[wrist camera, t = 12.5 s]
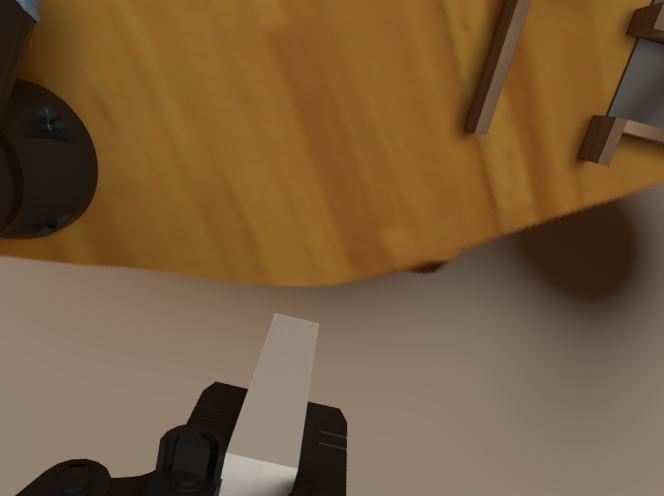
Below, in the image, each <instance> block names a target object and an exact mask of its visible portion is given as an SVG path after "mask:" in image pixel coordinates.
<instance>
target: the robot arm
mask: <svg viewBox="0 0 664 496" xmlns="http://www.w3.org/2000/svg"><path fill="white" fill-rule="evenodd" d="M41 3H42V0H0V238H1V239H31V238H37V237H42V236H46V235H48V234H51V233H53V232H56V231H58V230H60V229H62V228H64V227H66V226H68V225H70V224H71V223H73V222H74V221H75V220H77V219H78V218H79V217H80V216H81V215H82V214H83V213H84V212H85V210H86V209H87V207H88V206H89V204H90V202H91V200H92V198H93V195H94V193H95V189H96V185H97V177H98V166H97V158H96V153H95V149H94V146H93V143H92V140H91V138H90V136H89V134H88V131H87V130H86V128H85V126H84V125H83V123H82V121H81V120H80V119H79V117H78V116H77V115H76V113H75V112H74V111H73V110H72V109H71V108H70V107H69V106H68V105H67V104H66V103H65V102H64V101H63V100H62V99H60V98H59V97H58V96H56V95H55V94H54V93H52V92H50V91H49V90H47V89H45V88H43V87H41V86H39V85H37V84H34V83H31V82H28V81H25V80H20V79H16V78H17V75H18V72H19V69H20V66H21V63H22V60H23V58H24V55H25V52H26V49H27V46H28V43H29V40H30V37H31V34H32V32H33V29H34V26H35V23H36V24H38V25H39V23H40V20H41V16H40V14H39V10H40V6H41ZM318 326H319V323H316V322H311V321H307V320H303V319H299V318H294V317H290V316H286V315H282V314H277V313H275V315H274V318H273V321H272V323H271V326H270V329H269V332H268V335H267V338H266V340H265V343H264V346H263V349H262V352H261V355H260V358H259V360H258V363H257V366H256V369H255V372H254V375H253V377H252V380H251V383H250V386H249V389H246V388H241V387H237V386H232V385H228V384H224V383H220V382H215V383H213V384H212V385H210V386H209V387H208V388H206V389H205V390H204V391H203V392H202V394H201V396H200V398H199V400H198V402H197V404H196V406H195V408H194V410H193V412H192V414H191V417H190V418H189V420H188V422H187V424H186V425H181V426H177V427H175V428H173V429H171V430H169V431H167V432H166V433H165V435H164V436H163V437H162V438H161V439H160V445H159V452H158V458H157V464H156V470H154V471H153V472H151V473H148V474H144V475H141V476H135V477H124V478H123V477H122V478H111V476H110V474H109V472H108V470H107V468H106V467H104V466H103V465H102V464H100V463H98V462H96V461H92V460H88V459H72V460H68V461H65V462H62V463H59V464H57V465H55V466H53V467H51V468H50V469H48V470H47V471H45V472H44V473H43V474H41V475H40V476H39V477H37V478H36V479H35V480H34V481H33V482H31V483H30V484H29V485H28V486H26V487H25V488H24V489H23V490H22V491H20V492H19V493H18V494H17V495H15V496H346V465H347V451H346V449H347V439H346V438H347V421H346V420H345V418H344V416H343V414H342V412H341V410H340V409H338V408H334V407H329V406H325V405H321V404H316V403H312V402H308V396H309V389H310V382H311V375H312V367H313V361H314V354H315V347H316V340H317V333H318Z"/></svg>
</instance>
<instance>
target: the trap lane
mask: <svg viewBox="0 0 664 496" xmlns="http://www.w3.org/2000/svg"><path fill="white" fill-rule="evenodd" d="M530 3H531V0H506V1H505V4H504V7H503V11H502V14H501V17H500V20H499V23H498V26H497V29H496V32H495V36H494V39H493V42H492V45H491V48H490V51H489V54H488V58H487V61H486V64H485V67H484V70H483V73H482V76H481V79H480V83H479V86H478V89H477V92H476V95H475V98H474V101H473V105H472V108H471V111H470V114H469V117H468V120H467V123H466V126H465V130H469V131H472V132H475V133H479V134H483V135H487V132H488V129H489V126H490V123H491V120H492V117H493V114H494V111H495V108H496V105H497V102H498V99H499V96H500V93H501V90H502V87H503V84H504V81H505V78H506V75H507V72H508V69H509V66H510V63H511V60H512V57H513V54H514V51H515V48H516V45H517V42H518V39H519V36H520V33H521V30H522V27H523V24H524V21H525V18H526V15H527V12H528V9H529V6H530ZM626 34H627V35H631V36H635V37H639V38H638V39H637V41H636V44H635V46H634V49H633V51H632V54H631V56H630V58H629V61H628V63H627V66H626V68H625V71H624V73H623V76H622V78H621V81H620V83H619V86H618V88H617V91H616V93H615V95H614V98H613V100H612V103H611V105H610V108H609V110H608V113H607V115H606V116H600V115H594V116H593V119H592V121H591V124H590V126H589V129H588V131H587V134H586V136H585V139H584V141H583V144H582V146H581V149H580V151H579V154H578V156H577V158H580V159H583V160H587V161H590V162H594V163H597V164H601V165H605V166H609V164H610V162H611V159H612V157H613V155H614V152H615V150H616V148H617V145H618V143H619V140H620V138H621V136H622V134H623V135H627V136H631V137H635V138H639V139H643V140H647V141H650V142H654V143H658V144H662V145H664V0H653V2H652V4H651V5H649V6H646V7H643V8H639V9H636V10H635V13H634V16H633V18H632V21H631V23H630V26H629V28H628V31H627V33H626ZM641 38H643V39H641ZM645 39H646V40H645ZM648 40H650V41H648ZM652 41H654V42H652ZM656 42H658V43H656ZM660 43H661V44H660Z"/></svg>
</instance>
